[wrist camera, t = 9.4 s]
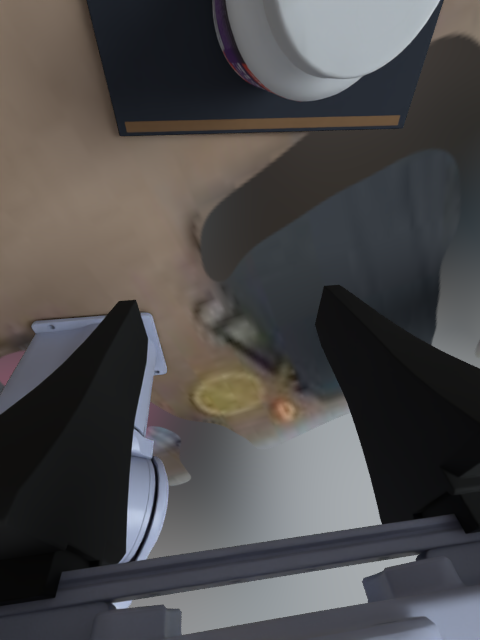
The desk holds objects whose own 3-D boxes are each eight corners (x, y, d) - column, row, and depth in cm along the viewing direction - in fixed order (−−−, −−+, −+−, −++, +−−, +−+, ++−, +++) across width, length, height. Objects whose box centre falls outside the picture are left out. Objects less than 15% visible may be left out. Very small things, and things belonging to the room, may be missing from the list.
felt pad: (121, 134, 15) (119, 136, 15) (40, -198, 9) (35, -206, 9) (399, 127, 17) (403, 128, 16) (491, -168, 11) (500, -175, 10)
